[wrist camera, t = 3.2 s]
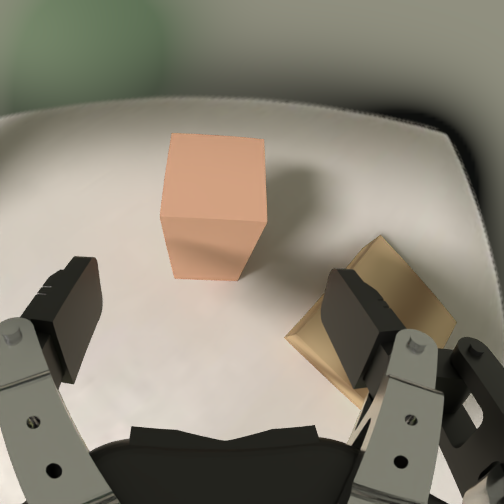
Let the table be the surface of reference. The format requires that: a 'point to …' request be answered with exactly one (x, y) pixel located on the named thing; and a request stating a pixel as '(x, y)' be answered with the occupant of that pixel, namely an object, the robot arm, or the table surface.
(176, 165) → the block
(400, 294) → the base slab
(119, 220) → the table surface
